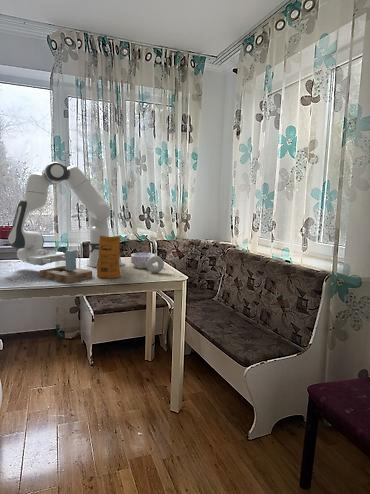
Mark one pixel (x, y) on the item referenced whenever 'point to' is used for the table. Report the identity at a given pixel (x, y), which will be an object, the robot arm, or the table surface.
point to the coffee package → (108, 257)
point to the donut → (155, 259)
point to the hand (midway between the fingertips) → (58, 260)
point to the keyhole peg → (70, 260)
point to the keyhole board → (65, 274)
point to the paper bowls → (141, 259)
